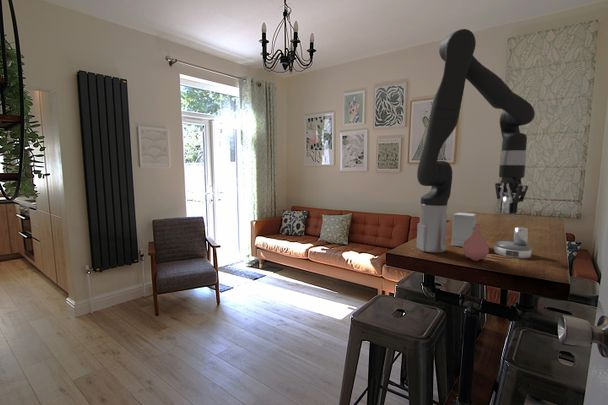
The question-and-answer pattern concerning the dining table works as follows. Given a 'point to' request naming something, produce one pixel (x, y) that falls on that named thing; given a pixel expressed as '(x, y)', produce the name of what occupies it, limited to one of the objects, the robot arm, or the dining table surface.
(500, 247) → the scale
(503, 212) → the steel spacer
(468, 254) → the pink rounded bulb
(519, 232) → the steel spacer
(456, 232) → the supplement box
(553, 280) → the dining table surface
